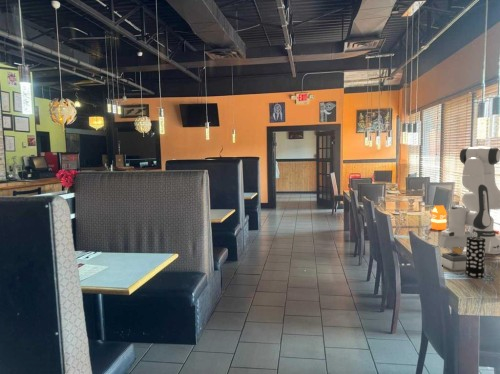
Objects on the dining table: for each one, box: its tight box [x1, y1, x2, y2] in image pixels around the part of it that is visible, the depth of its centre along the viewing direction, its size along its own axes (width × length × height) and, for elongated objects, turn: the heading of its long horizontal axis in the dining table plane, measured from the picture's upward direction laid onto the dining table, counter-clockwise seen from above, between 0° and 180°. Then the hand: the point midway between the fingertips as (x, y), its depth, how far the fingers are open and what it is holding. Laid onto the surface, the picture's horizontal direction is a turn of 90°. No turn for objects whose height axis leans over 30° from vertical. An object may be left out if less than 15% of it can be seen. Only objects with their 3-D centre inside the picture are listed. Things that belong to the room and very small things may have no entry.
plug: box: [452, 247, 462, 254], centre depth 229 cm, size 4×4×7 cm
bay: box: [440, 252, 466, 272], centre depth 215 cm, size 18×14×7 cm
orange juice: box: [430, 204, 447, 231], centre depth 320 cm, size 8×9×20 cm
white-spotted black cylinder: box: [465, 236, 486, 279], centre depth 197 cm, size 8×8×20 cm
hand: (456, 254), depth 229 cm, fingers closed on plug, 4 cm apart
